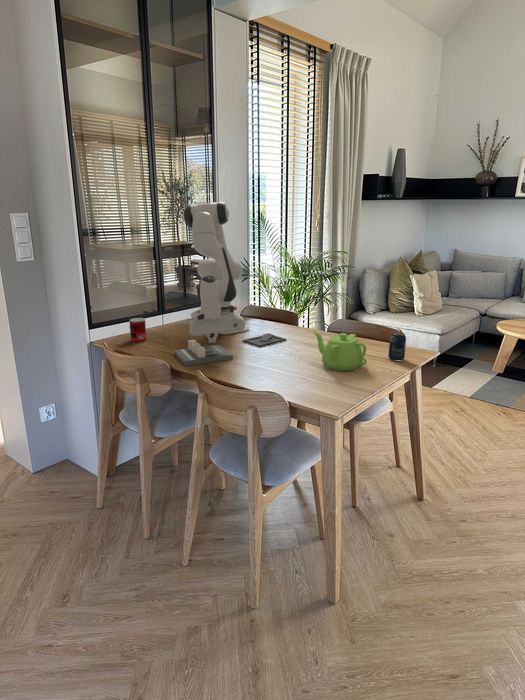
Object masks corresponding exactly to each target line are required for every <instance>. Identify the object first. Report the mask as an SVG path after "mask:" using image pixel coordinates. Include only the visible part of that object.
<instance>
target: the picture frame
mask: <svg viewBox="0 0 525 700" xmlns="http://www.w3.org/2000/svg"><path fill="white" fill-rule="evenodd" d="M282 341H284V342H287V338H285V337H280V336H277V335H275V334H272V333H270V332H269V333H263V334H262V335H259V336H253V337H250V338H246V339H242V343H244V342H245V343H244V344H247V343H248V344H247V345H250V344H251V345H250V346H253V345H255V346H254V347H256V346H258V347H257V348H259V347H260V348H263V346H264V347H267V346H266V345H268V346H272V345H276V344H279V343H278V342H280V343H283V342H282ZM275 343H276V344H275ZM271 344H272V345H271Z"/></svg>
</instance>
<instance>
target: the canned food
mask: <svg viewBox="0 0 525 700" xmlns="http://www.w3.org/2000/svg"><path fill="white" fill-rule="evenodd" d="M129 330H130V333H129V334H130V340H131V342H132V343H141V342H142V343H143V342H145V341H146V340H147V327H146V319H145V317H134V318H130V319H129Z"/></svg>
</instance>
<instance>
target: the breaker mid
mask: <svg viewBox="0 0 525 700" xmlns="http://www.w3.org/2000/svg"><path fill="white" fill-rule="evenodd" d="M200 346H202V345H201V344H200V343H199V342H197V343H193V344H192V353H194V354H196V347H200Z"/></svg>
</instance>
